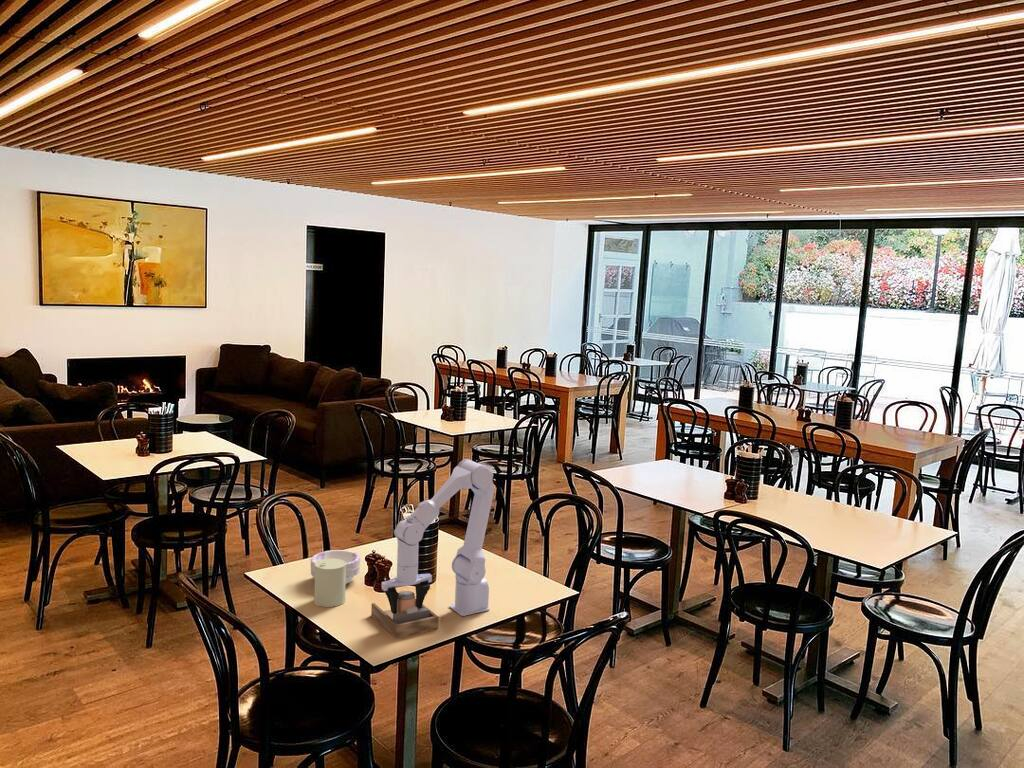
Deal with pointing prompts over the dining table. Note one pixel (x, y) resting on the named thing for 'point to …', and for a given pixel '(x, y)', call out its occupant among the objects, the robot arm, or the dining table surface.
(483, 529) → the robot arm
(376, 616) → the brown wooden tray
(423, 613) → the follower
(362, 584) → the dining table surface
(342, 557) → the paper bowls
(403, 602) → the jar
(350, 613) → the dining table surface
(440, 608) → the dining table surface
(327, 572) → the can
